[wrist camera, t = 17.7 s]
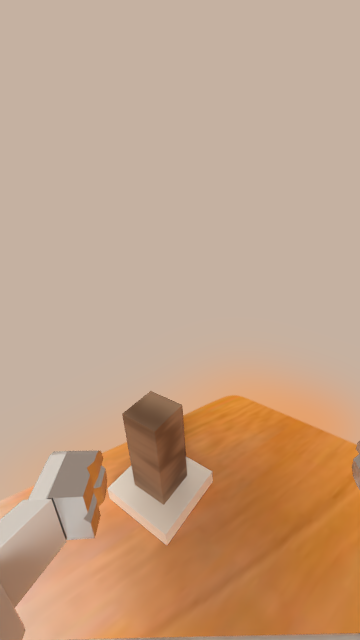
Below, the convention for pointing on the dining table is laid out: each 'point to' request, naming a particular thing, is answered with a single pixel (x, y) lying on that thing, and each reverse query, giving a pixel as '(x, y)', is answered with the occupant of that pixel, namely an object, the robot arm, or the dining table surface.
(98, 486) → the robot arm
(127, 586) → the dining table surface
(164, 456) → the walnut block
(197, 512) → the dining table surface
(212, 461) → the dining table surface
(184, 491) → the off-white board
